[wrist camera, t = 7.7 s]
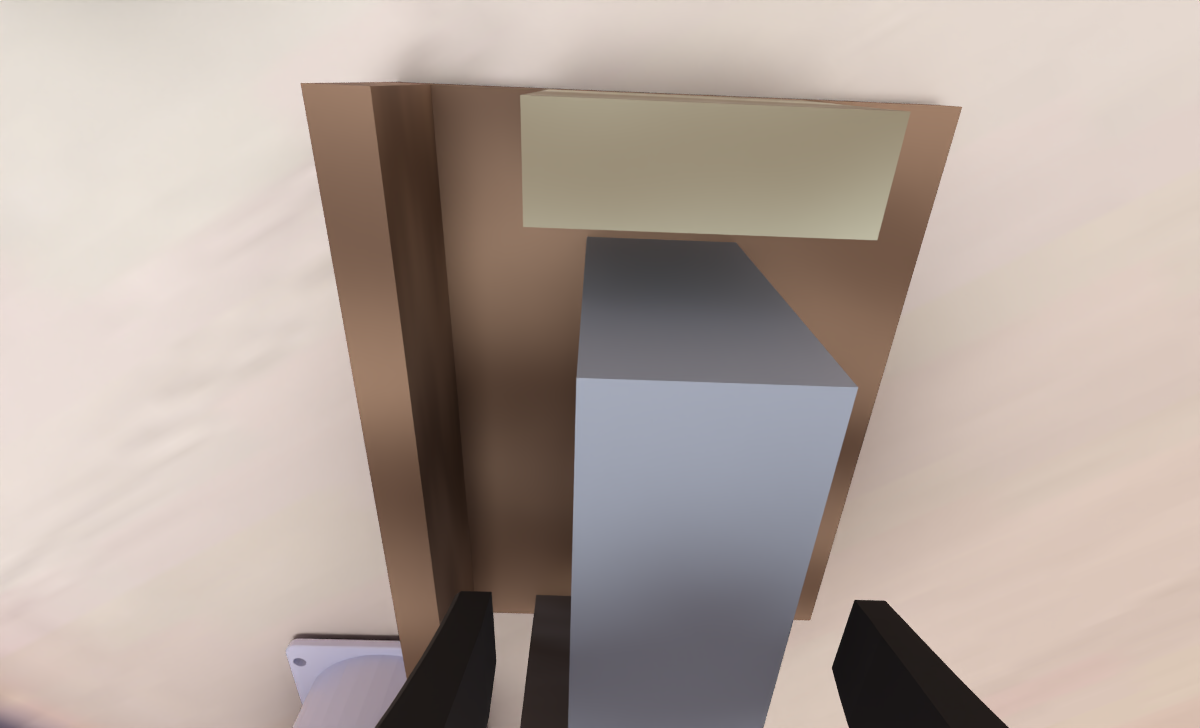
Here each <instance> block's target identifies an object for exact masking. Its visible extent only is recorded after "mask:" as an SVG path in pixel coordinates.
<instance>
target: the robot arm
mask: <svg viewBox="0 0 1200 728" xmlns="http://www.w3.org/2000/svg"><path fill="white" fill-rule="evenodd" d="M286 655H287V658H288V662H289V665H290V668H291V671H292V674H293V677H294V680H295V684H296V687H297V690H298V693H299V696H300V699H301V703H302V708H301V710H300V712H299V714H298V716H297V718H296V720H295V723H294V725H293V727H292V728H487V723H488V718H489V712H490V704H491V697H492V690H493V682H494V674H495V667H496V650H495V634H494V619H493V604H492V592H483V591H460V592H459V593H457V594H456V595H455V597H454V599H453V601H452V603H451V605H450V607H449V609H448V611H447V613H446V615H445V616H444V618H443V620H442V622H441V624H440V626H439V628H438V629H437V631H436V633H435V635H434V636H433V638H432V640H431V641H430V643H429V645H428V647H427V648H426V650H425V652H424V653H423V655H422V657H421V658H420V660H419V661H418V663H417V665H416V666H415V668H414V669H413V671H412V672H411V674H410V676H409V677H408V679H407V678H406V672H405V667H404V661H403V655H402V650H401V644H400V641H388V640H345V639H302V638H299V639H294V640H292V641H291V642H290V643H289V645H288V647H287V648H286ZM832 670H833V674H834V678H835V681H836V685H837V689H838V692H839V696H840V700H841V703H842V706H843V710H844V713H845V716H846V720H847V723H848V726H849V728H1009V727H1008V726H1006V725H1005V724H1004V723H1003V722H1002V721H1001V720H1000V719H999V718H998V717H997V716H996V715H995V714H994V713H993V712H992V711H991V710H990V709H989V708H988V707H987V706H986V705H985V704H984V703H983V702H982V701H981V700H980V699H979V698H978V697H977V696H976V695H975V694H974V693H973V692H972V691H971V690H970V689H969V688H968V687H967V686H966V685H965V684H964V683H963V682H962V681H961V680H960V679H959V678H958V677H957V676H956V675H955V674H954V672H953V671H952V670H951V669H950V668H949V667H948V666H947V665H946V664H945V663H944V662H943V661H942V660H941V659H940V658H939V657H938V656H937V655H936V654H935V653H934V652H933V651H932V650H931V649H930V647H929V646H928V645H927V644H926V643H925V642H924V641H923V640H922V639H921V638H920V637H919V636H918V635H917V634H916V633H915V632H914V631H913V629H912V628H911V627H910V626H909V625H908V624H907V623H906V622H905V621H904V620H903V619H902V618H901V617H900V616H899V615H898V614H897V613H896V612H895V611H894V610H893V608H892V607H891V606H890V605H889V604H888V603H887V602H886V601H874V600H854V603H853V606H852V609H851V612H850V615H849V618H848V621H847V624H846V627H845V630H844V633H843V636H842V639H841V642H840V645H839V648H838V651H837V654H836V657H835V660H834V663H833V666H832Z"/></svg>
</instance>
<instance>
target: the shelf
mask: <svg viewBox="0 0 1200 728" xmlns="http://www.w3.org/2000/svg"><path fill="white" fill-rule="evenodd" d="M301 88H302V93H303V99H304V105H305V110H306V116H307V121H308V127H309V133H310V138H311V144H312V150H313V155H314V161H315V166H316V172H317V178H318V183H319V189H320V195H321V200H322V206H323V211H324V217H325V223H326V228H327V234H328V239H329V245H330V251H331V256H332V262H333V268H334V273H335V279H336V284H337V290H338V296H339V301H340V307H341V313H342V318H343V324H344V329H345V335H346V341H347V346H348V352H349V357H350V363H351V369H352V374H353V380H354V386H355V391H356V397H357V402H358V408H359V414H360V419H361V425H362V431H363V436H364V442H365V447H366V453H367V459H368V464H369V470H370V475H371V481H372V487H373V492H374V498H375V504H376V509H377V515H378V520H379V526H380V532H381V537H382V543H383V549H384V554H385V560H386V565H387V571H388V577H389V582H390V588H391V594H392V599H393V605H394V610H395V616H396V622H397V627H398V633H399V638H400V644H401V650H402V655H403V661H404V667H405V672H406V678H407V679H408V677H409V676H410V674H411V672H412V671H413V669H414V668H415V666H416V665H417V663H418V661H419V660H420V658H421V657H422V655H423V653H424V652H425V650H426V648H427V647H428V645H429V643H430V641H431V640H432V638H433V636H434V635H435V633H436V631H437V629H438V628H439V626H440V624H441V622H442V620H443V618H444V616H445V615H446V613H447V611H448V609H449V607H450V605H451V603H452V601H453V599H454V597H455V595H456V594H457V593H459V592H460V591H483V592H492V604H493V613H532V614H534V618H533V626H532V634H531V643H530V651H529V659H528V668H527V676H526V684H525V693H524V701H523V709H522V718H521V726H520V728H568V709H569V668H570V626H571V584H572V543H573V501H574V460H575V418H576V377H577V364H578V350H579V336H580V323H581V309H582V295H583V281H584V268H585V254H586V240H587V237H607V238H633V239H659V240H684V241H710V242H736V243H737V244H738V246H739V247H740V248H741V249H742V250H743V251H744V253H745V254H746V255H747V256H748V257H749V259H750V260H751V261H752V262H753V263H754V265H755V266H756V267H757V268H758V269H759V270H760V272H761V273H762V274H763V275H764V276H765V278H766V279H767V280H768V281H769V282H770V283H771V285H772V286H773V287H774V288H775V289H776V291H777V292H778V293H779V294H780V295H781V296H782V298H783V299H784V300H785V301H786V302H787V304H788V305H789V306H790V307H791V308H792V310H793V311H794V312H795V313H796V314H797V315H798V317H799V318H800V319H801V320H802V321H803V323H804V324H805V325H806V326H807V327H808V328H809V330H810V331H811V332H812V333H813V334H814V336H815V337H816V338H817V339H818V340H819V342H820V343H821V344H822V345H823V346H824V347H825V349H826V350H827V351H828V352H829V353H830V355H831V356H832V357H833V358H834V359H835V360H836V362H837V363H838V364H839V365H840V366H841V368H842V369H843V370H844V371H845V372H846V374H847V375H848V376H849V377H850V378H851V379H852V381H853V382H854V383H855V384H856V385H857V387H858V390H857V394H856V397H855V401H854V404H853V408H852V412H851V415H850V419H849V422H848V426H847V430H846V433H845V437H844V440H843V444H842V447H841V451H840V455H839V458H838V462H837V465H836V469H835V473H834V476H833V480H832V483H831V487H830V490H829V494H828V498H827V501H826V505H825V508H824V512H823V516H822V519H821V523H820V526H819V530H818V533H817V537H816V541H815V544H814V548H813V551H812V555H811V559H810V562H809V566H808V569H807V573H806V576H805V580H804V584H803V587H802V591H801V594H800V598H799V602H798V605H797V609H796V612H795V616H794V619H793V620H810V619H811V615H812V612H813V609H814V605H815V602H816V599H817V595H818V592H819V588H820V585H821V582H822V578H823V575H824V572H825V568H826V565H827V561H828V558H829V555H830V551H831V548H832V545H833V541H834V538H835V534H836V531H837V528H838V524H839V521H840V518H841V514H842V511H843V507H844V504H845V501H846V497H847V494H848V490H849V487H850V484H851V480H852V477H853V474H854V470H855V467H856V463H857V460H858V457H859V453H860V450H861V447H862V443H863V440H864V436H865V433H866V430H867V426H868V423H869V420H870V416H871V413H872V409H873V406H874V403H875V399H876V396H877V393H878V389H879V386H880V382H881V379H882V376H883V372H884V369H885V366H886V362H887V359H888V355H889V352H890V349H891V345H892V342H893V339H894V335H895V332H896V328H897V325H898V322H899V318H900V315H901V312H902V308H903V305H904V301H905V298H906V295H907V291H908V288H909V285H910V281H911V278H912V274H913V271H914V268H915V264H916V261H917V258H918V254H919V251H920V247H921V244H922V241H923V237H924V234H925V231H926V227H927V224H928V220H929V217H930V214H931V210H932V207H933V203H934V200H935V197H936V193H937V190H938V187H939V183H940V180H941V176H942V173H943V170H944V166H945V163H946V160H947V156H948V153H949V149H950V146H951V143H952V139H953V136H954V133H955V129H956V126H957V122H958V119H959V116H960V112H961V109H962V107H956V106H943V105H925V104H901V103H878V102H854V101H830V100H807V99H783V98H760V97H736V96H713V95H689V94H666V93H642V92H619V91H595V90H572V89H548V88H525V87H501V86H477V85H454V84H430V83H407V82H360V83H301Z"/></svg>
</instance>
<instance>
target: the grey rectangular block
mask: <svg viewBox="0 0 1200 728" xmlns="http://www.w3.org/2000/svg"><path fill="white" fill-rule="evenodd" d="M857 390H858V387H857V385H856V384H855V383H854V382H853V381H852V379H851V378H850V377H849V376H848V375H847V374H846V372H845V371H844V370H843V369H842V368H841V366H840V365H839V364H838V363H837V362H836V360H835V359H834V358H833V357H832V356H831V355H830V353H829V352H828V351H827V350H826V349H825V347H824V346H823V345H822V344H821V343H820V342H819V340H818V339H817V338H816V337H815V336H814V334H813V333H812V332H811V331H810V330H809V328H808V327H807V326H806V325H805V324H804V323H803V321H802V320H801V319H800V318H799V317H798V315H797V314H796V313H795V312H794V311H793V310H792V308H791V307H790V306H789V305H788V304H787V302H786V301H785V300H784V299H783V298H782V296H781V295H780V294H779V293H778V292H777V291H776V289H775V288H774V287H773V286H772V285H771V283H770V282H769V281H768V280H767V279H766V278H765V276H764V275H763V274H762V273H761V272H760V270H759V269H758V268H757V267H756V266H755V265H754V263H753V262H752V261H751V260H750V259H749V257H748V256H747V255H746V254H745V253H744V251H743V250H742V249H741V248H740V247H739V246H738V244H737V243H736V242H710V241H684V240H659V239H633V238H607V237H587V240H586V254H585V268H584V281H583V295H582V309H581V323H580V336H579V350H578V364H577V377H576V418H575V460H574V501H573V543H572V584H571V626H570V668H569V709H568V728H763V727H764V723H765V720H766V716H767V713H768V709H769V705H770V702H771V698H772V695H773V691H774V688H775V684H776V680H777V677H778V673H779V670H780V666H781V662H782V659H783V655H784V652H785V648H786V645H787V641H788V637H789V634H790V630H791V627H792V623H793V619H794V616H795V612H796V609H797V605H798V602H799V598H800V594H801V591H802V587H803V584H804V580H805V576H806V573H807V569H808V566H809V562H810V559H811V555H812V551H813V548H814V544H815V541H816V537H817V533H818V530H819V526H820V523H821V519H822V516H823V512H824V508H825V505H826V501H827V498H828V494H829V490H830V487H831V483H832V480H833V476H834V473H835V469H836V465H837V462H838V458H839V455H840V451H841V447H842V444H843V440H844V437H845V433H846V430H847V426H848V422H849V419H850V415H851V412H852V408H853V404H854V401H855V397H856V394H857Z"/></svg>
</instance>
